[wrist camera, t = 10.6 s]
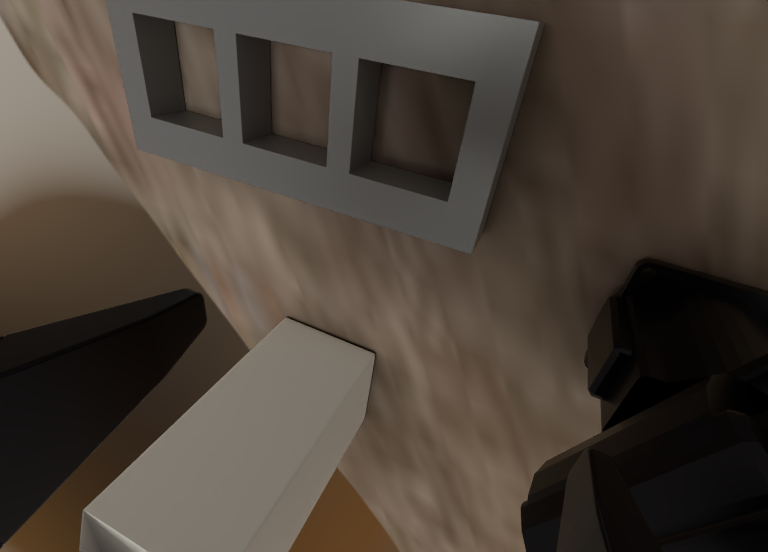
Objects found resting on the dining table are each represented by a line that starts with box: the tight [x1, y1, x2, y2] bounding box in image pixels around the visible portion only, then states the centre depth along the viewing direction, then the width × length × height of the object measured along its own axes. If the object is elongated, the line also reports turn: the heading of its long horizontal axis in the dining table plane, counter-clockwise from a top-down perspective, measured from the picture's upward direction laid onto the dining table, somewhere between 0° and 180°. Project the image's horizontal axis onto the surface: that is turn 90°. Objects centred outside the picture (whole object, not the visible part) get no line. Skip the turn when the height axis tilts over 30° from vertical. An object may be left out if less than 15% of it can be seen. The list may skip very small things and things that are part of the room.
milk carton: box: [79, 318, 375, 552], centre depth 23 cm, size 7×7×19 cm
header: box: [106, 0, 545, 255], centre depth 19 cm, size 20×9×2 cm, turn 82°
